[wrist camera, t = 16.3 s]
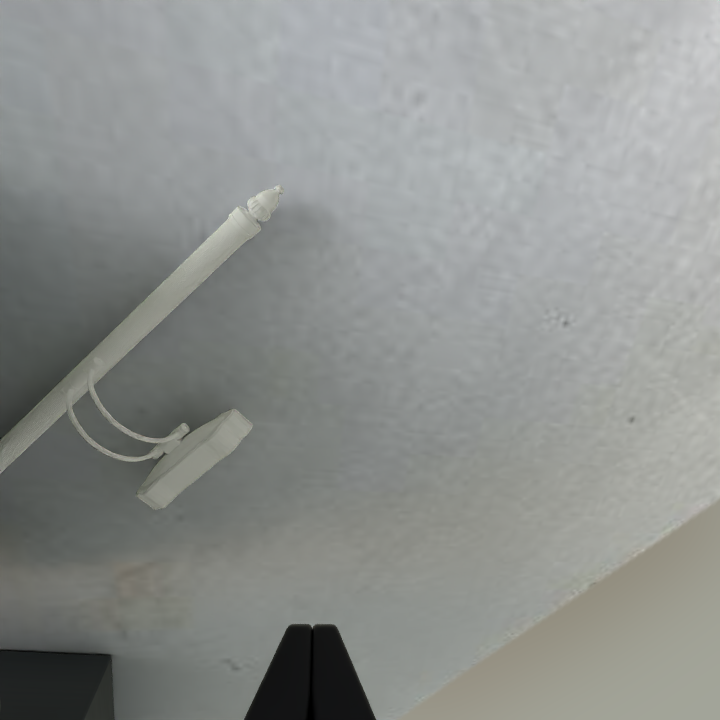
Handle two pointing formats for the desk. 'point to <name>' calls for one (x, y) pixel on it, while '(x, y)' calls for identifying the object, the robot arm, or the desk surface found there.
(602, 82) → the desk surface
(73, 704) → the card box
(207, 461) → the picture light
